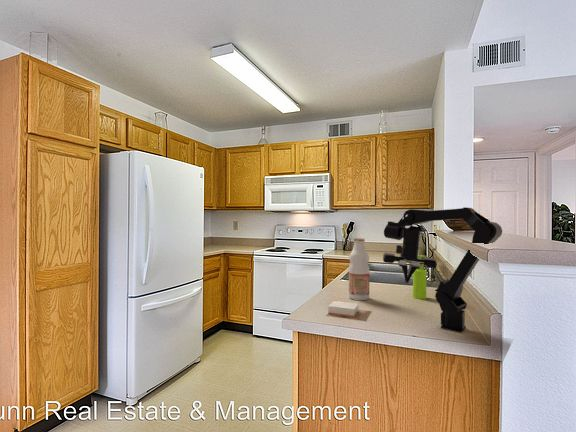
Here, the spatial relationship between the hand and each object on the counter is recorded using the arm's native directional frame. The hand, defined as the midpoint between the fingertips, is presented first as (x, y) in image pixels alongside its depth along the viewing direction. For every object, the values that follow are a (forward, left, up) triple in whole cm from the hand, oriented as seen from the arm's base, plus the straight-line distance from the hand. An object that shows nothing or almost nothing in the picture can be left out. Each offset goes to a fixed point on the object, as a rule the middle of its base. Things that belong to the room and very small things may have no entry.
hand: (406, 282), depth 121 cm
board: (+17, +13, -13) cm, 25 cm away
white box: (+15, +12, -11) cm, 22 cm away
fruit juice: (+27, -12, -13) cm, 32 cm away
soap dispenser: (+6, -33, -13) cm, 36 cm away
